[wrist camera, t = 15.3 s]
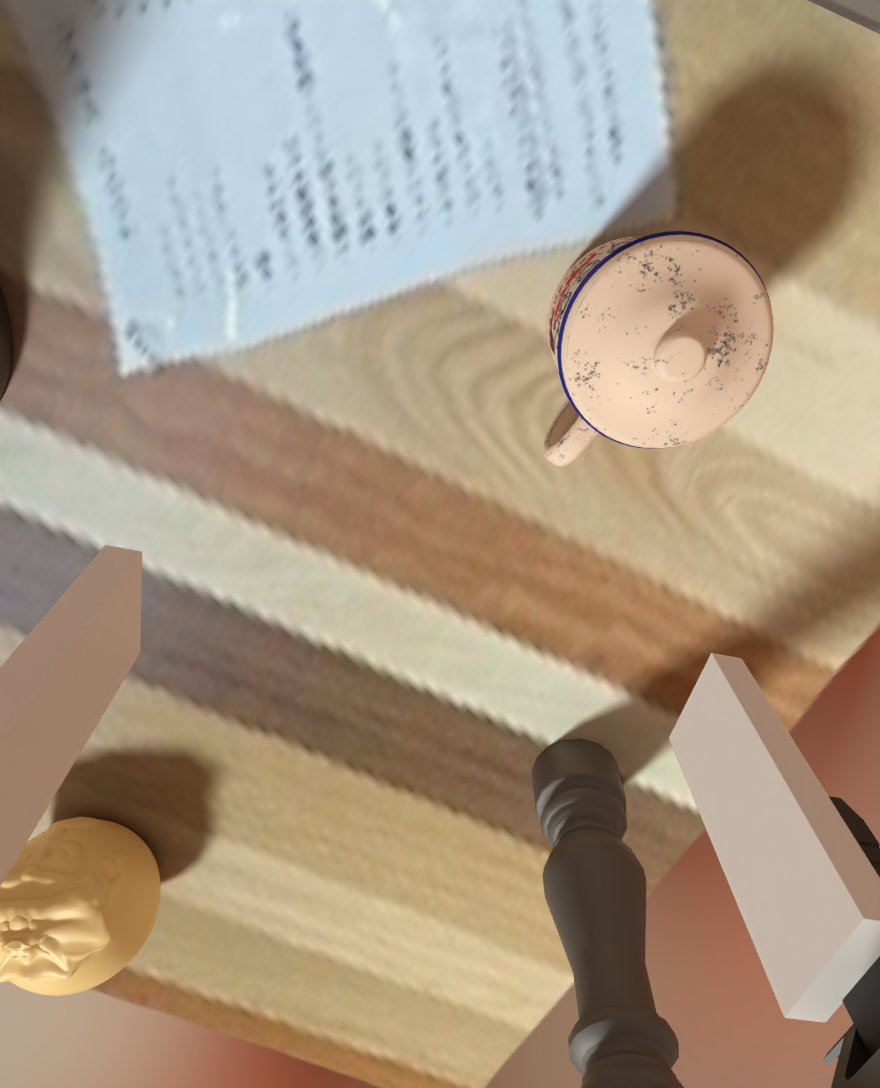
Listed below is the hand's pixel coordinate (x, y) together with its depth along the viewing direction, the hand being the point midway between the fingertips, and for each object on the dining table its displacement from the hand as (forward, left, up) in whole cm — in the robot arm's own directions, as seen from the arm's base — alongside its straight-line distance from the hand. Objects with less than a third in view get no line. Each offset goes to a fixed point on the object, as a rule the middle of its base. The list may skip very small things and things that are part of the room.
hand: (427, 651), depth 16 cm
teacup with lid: (+7, +6, -27) cm, 28 cm away
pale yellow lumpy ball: (-13, -44, -27) cm, 53 cm away
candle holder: (+18, -22, -27) cm, 39 cm away
